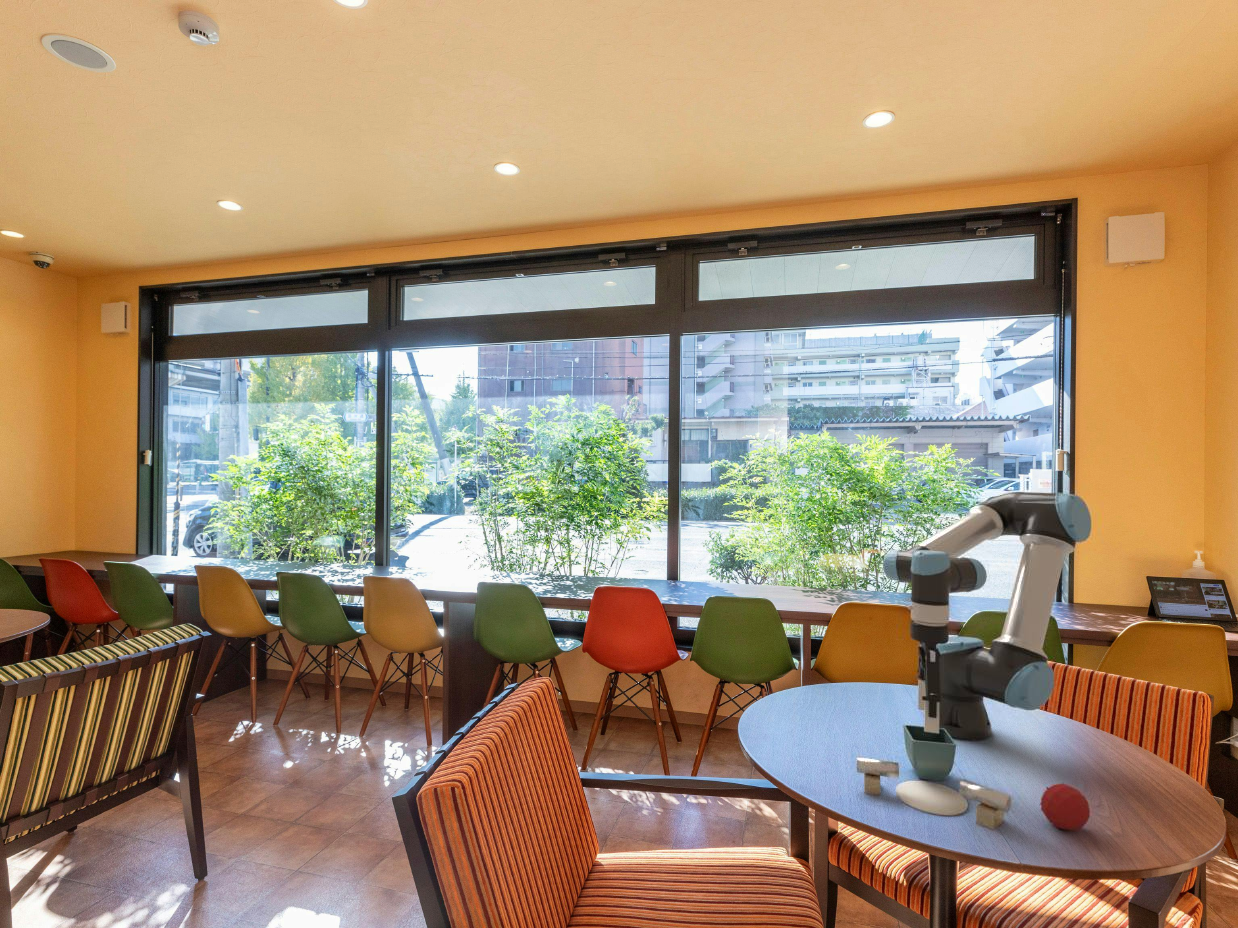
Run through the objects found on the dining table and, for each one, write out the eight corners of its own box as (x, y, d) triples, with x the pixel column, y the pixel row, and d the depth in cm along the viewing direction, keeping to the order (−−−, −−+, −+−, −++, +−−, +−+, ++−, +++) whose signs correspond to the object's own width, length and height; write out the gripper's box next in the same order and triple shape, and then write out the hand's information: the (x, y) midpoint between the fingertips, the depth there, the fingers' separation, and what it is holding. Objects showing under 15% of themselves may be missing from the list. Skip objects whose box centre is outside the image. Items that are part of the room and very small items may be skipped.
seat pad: (938, 780, 137) (938, 778, 137) (983, 812, 124) (983, 810, 124) (882, 784, 134) (882, 782, 134) (922, 818, 121) (922, 815, 121)
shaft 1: (897, 787, 133) (897, 758, 133) (899, 798, 129) (899, 768, 129) (856, 780, 136) (856, 752, 136) (856, 791, 131) (856, 761, 132)
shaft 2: (956, 814, 123) (957, 783, 123) (967, 806, 126) (967, 775, 126) (1002, 833, 117) (1002, 800, 117) (1012, 823, 120) (1013, 791, 120)
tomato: (1089, 791, 115) (1052, 764, 122) (1057, 819, 114) (1021, 790, 122) (1105, 819, 117) (1068, 791, 124) (1073, 846, 117) (1038, 817, 124)
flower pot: (957, 787, 134) (957, 744, 134) (912, 782, 135) (912, 740, 136) (944, 768, 142) (944, 727, 142) (902, 764, 144) (902, 724, 144)
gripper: (906, 609, 152) (904, 699, 152) (915, 633, 129) (914, 739, 128) (941, 612, 150) (939, 703, 149) (957, 637, 126) (956, 745, 126)
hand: (927, 720), depth 139 cm, fingers open, 13 cm apart
